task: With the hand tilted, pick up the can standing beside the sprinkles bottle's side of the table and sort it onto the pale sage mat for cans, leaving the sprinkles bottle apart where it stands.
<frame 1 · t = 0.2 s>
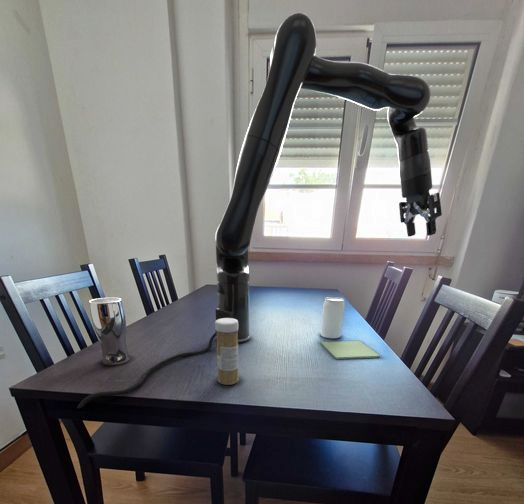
hand: (421, 235, 84), 31 cm above the table, tool tilted 20°, fingers open, 8 cm apart
can: (330, 336, 91), on the table
sprinkles bottle: (228, 381, 60), on the table
beer glass: (116, 361, 70), on the table
can mat: (348, 350, 79), on the table
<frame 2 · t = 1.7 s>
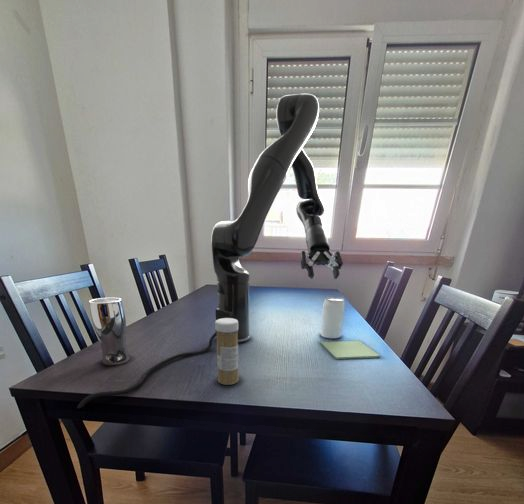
hand: (324, 277, 95), 17 cm above the table, tool tilted 45°, fingers open, 8 cm apart
nothing on the table moved.
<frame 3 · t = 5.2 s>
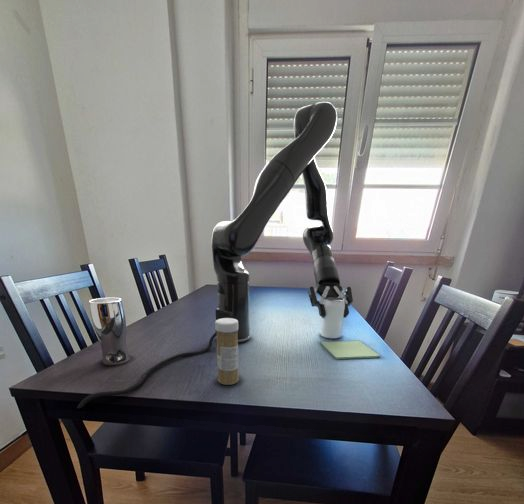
hand: (334, 316, 87), 7 cm above the table, tool tilted 45°, fingers closed on can, 6 cm apart
can: (330, 336, 91), on the table, touching gripper
everything else where it was.
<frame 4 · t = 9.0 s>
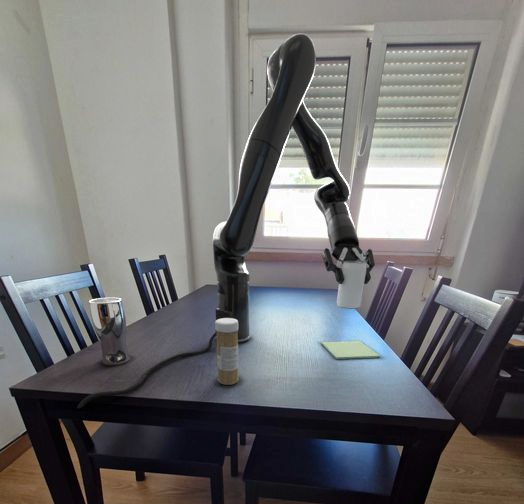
hand: (354, 282, 74), 19 cm above the table, tool tilted 45°, fingers closed on can, 6 cm apart
can: (348, 307, 78), point 11 cm above the table, touching gripper
everything else where it was.
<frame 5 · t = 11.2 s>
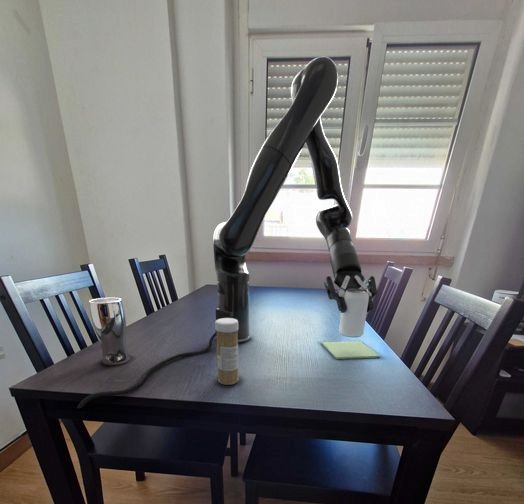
hand: (356, 311, 74), 12 cm above the table, tool tilted 45°, fingers closed on can, 6 cm apart
can: (350, 334, 78), point 4 cm above the table, touching gripper
everything else where it was.
when the fingers open (7 cm above the table, at t = 13.0 s): can stays where it is, resting on can mat.
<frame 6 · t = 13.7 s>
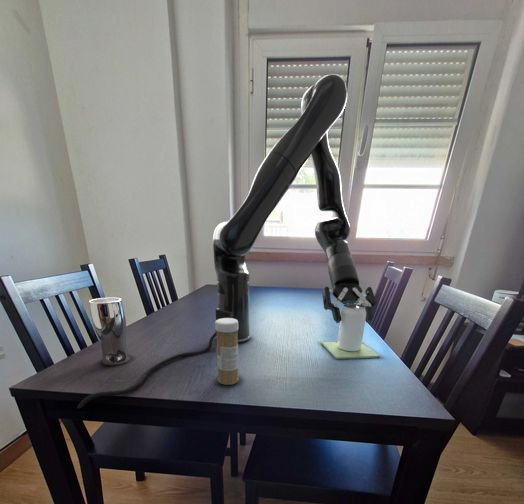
hand: (354, 321, 75), 9 cm above the table, tool tilted 45°, fingers open, 8 cm apart
can: (348, 348, 79), resting on can mat
everything else where it was.
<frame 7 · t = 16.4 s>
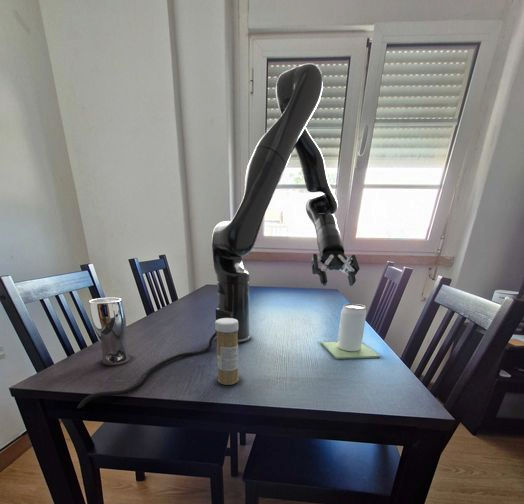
hand: (339, 284, 84), 17 cm above the table, tool tilted 45°, fingers open, 8 cm apart
nothing on the table moved.
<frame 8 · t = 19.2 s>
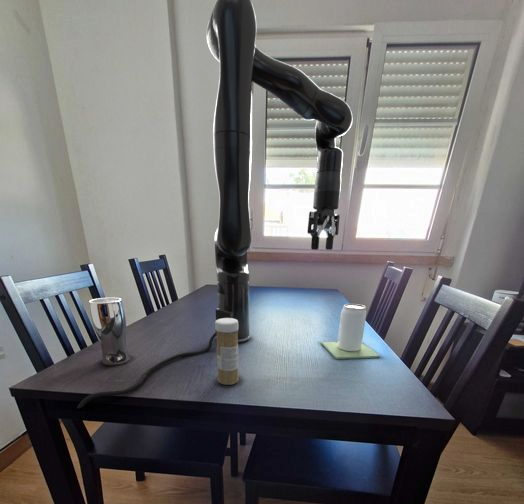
hand: (322, 249, 89), 26 cm above the table, tool pointing down, fingers open, 8 cm apart
nothing on the table moved.
at the end: can inside the target area on the can mat (0.2 cm from its centre), point 0.3 cm above the can mat's base; can tilted 0°; sprinkles bottle 37.4 cm from the can mat (horizontally) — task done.
